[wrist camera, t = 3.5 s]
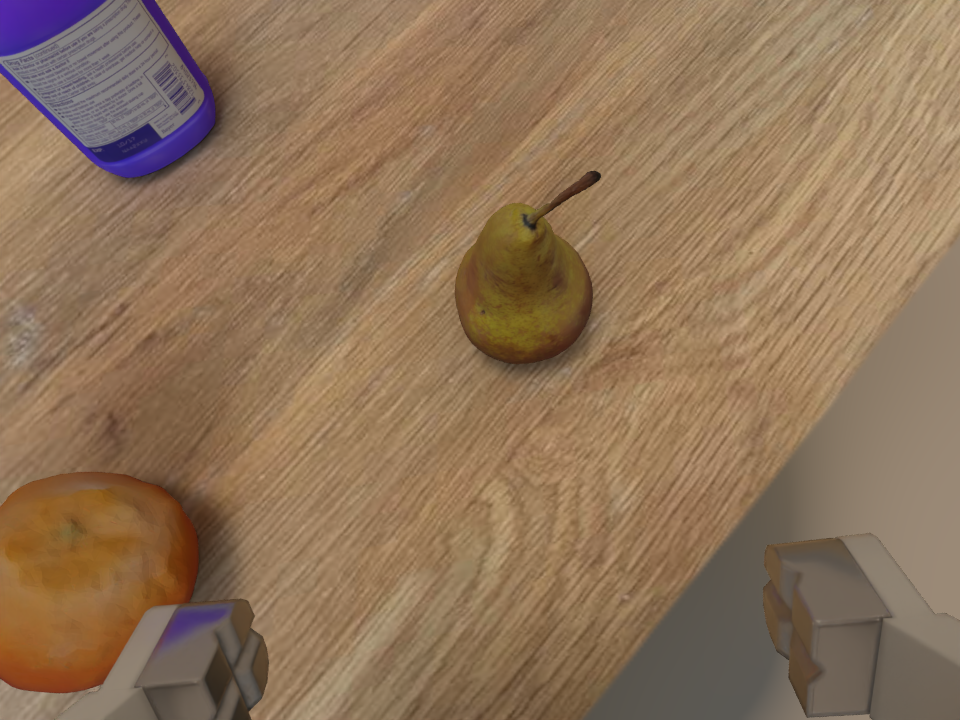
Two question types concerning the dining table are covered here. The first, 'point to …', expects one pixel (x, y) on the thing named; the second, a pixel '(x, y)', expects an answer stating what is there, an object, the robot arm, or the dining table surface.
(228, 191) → the dining table surface
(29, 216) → the dining table surface
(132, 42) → the bottle
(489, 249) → the fruit
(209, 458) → the dining table surface
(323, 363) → the dining table surface
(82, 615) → the fruit
